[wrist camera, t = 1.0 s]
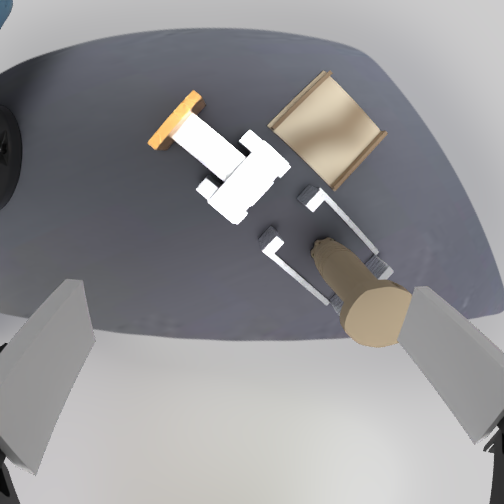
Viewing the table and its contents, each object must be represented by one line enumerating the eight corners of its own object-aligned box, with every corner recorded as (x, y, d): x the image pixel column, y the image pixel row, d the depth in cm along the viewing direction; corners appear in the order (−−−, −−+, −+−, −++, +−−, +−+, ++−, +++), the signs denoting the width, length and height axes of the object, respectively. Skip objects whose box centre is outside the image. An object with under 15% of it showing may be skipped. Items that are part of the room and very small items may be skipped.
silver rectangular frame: (254, 243, 32) (258, 255, 28) (312, 180, 30) (324, 185, 26) (330, 308, 35) (340, 325, 32) (381, 255, 34) (397, 267, 30)
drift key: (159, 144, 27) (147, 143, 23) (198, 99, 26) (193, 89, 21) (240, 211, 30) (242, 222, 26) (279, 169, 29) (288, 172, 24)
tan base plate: (266, 125, 28) (268, 124, 26) (322, 71, 26) (327, 67, 25) (333, 190, 31) (338, 192, 29) (383, 136, 29) (389, 136, 27)
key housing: (199, 184, 29) (194, 191, 25) (246, 132, 28) (250, 128, 23) (236, 215, 31) (237, 227, 26) (282, 164, 29) (293, 167, 25)
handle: (306, 220, 31) (366, 277, 17) (354, 239, 33) (429, 299, 19) (290, 260, 33) (333, 339, 19) (338, 275, 34) (398, 351, 20)
